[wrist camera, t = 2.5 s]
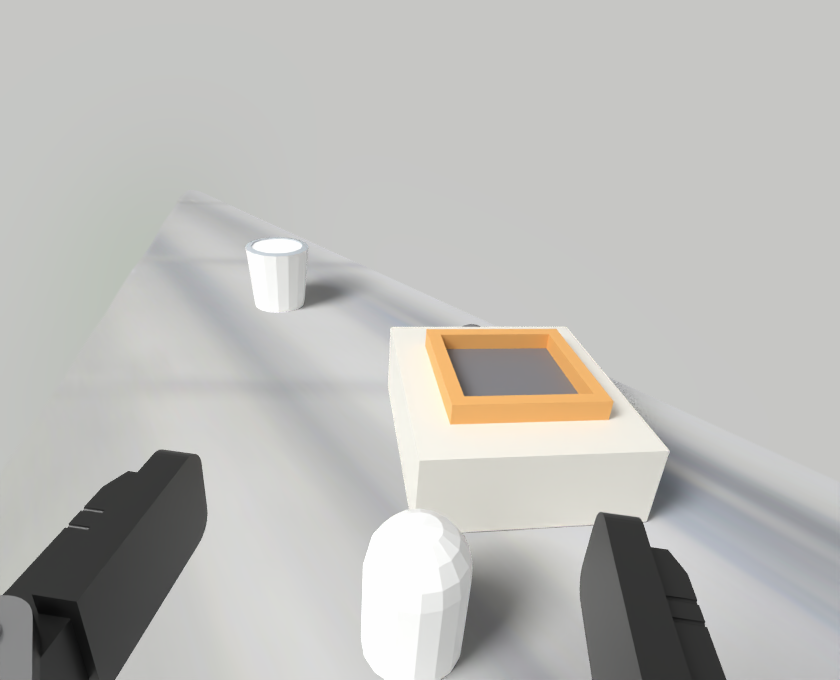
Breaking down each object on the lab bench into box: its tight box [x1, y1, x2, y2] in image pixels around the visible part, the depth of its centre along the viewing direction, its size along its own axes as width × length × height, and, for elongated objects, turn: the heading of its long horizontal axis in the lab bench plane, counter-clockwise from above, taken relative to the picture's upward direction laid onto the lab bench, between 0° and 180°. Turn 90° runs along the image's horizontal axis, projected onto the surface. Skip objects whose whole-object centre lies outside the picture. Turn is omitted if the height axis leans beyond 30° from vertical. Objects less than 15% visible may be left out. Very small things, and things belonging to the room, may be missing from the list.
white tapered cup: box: [245, 237, 308, 313], centre depth 66 cm, size 7×7×7 cm
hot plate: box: [388, 324, 670, 533], centre depth 45 cm, size 16×21×8 cm
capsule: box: [361, 509, 473, 680], centre depth 28 cm, size 5×5×8 cm
